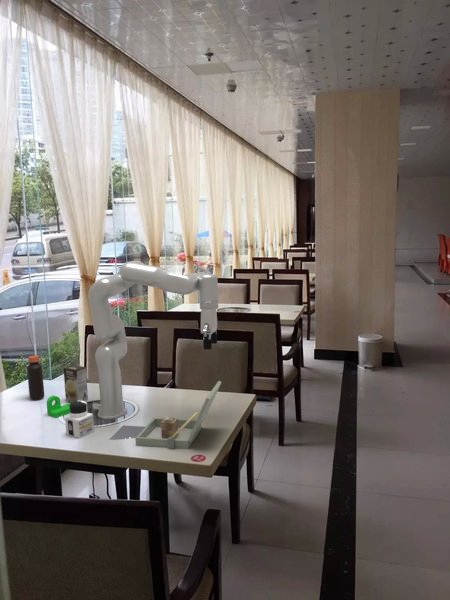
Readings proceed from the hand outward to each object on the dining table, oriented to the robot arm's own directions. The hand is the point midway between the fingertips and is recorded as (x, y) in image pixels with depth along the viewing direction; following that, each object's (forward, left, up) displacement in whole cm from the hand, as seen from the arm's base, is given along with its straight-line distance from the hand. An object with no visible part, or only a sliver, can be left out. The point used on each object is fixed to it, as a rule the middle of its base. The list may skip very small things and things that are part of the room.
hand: (210, 346), depth 215 cm
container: (-49, -22, -31) cm, 62 cm away
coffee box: (-69, +14, -31) cm, 77 cm away
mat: (-29, -20, -31) cm, 47 cm away
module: (-12, -21, -31) cm, 39 cm away
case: (-12, -21, -31) cm, 39 cm away
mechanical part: (-68, -1, -31) cm, 75 cm away
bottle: (-91, +16, -31) cm, 98 cm away
